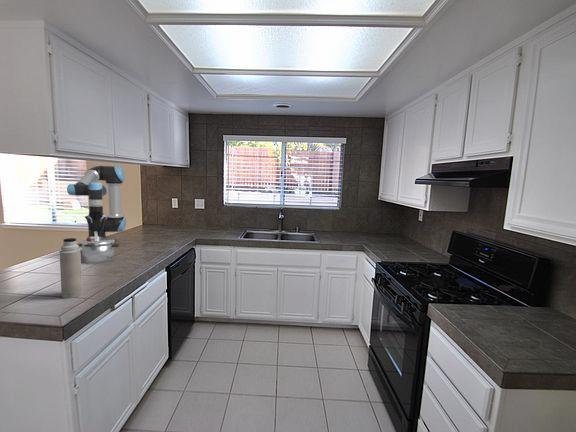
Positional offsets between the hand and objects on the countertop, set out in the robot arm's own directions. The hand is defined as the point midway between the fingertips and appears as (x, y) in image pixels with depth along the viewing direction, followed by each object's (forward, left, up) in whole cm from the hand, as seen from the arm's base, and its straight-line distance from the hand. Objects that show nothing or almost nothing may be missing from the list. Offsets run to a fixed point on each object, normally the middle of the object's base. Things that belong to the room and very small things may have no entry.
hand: (96, 240), depth 194 cm
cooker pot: (-2, 0, -14) cm, 14 cm away
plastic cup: (-18, -10, -14) cm, 25 cm away
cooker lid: (0, 0, -2) cm, 2 cm away
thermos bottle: (+59, +14, -14) cm, 62 cm away
